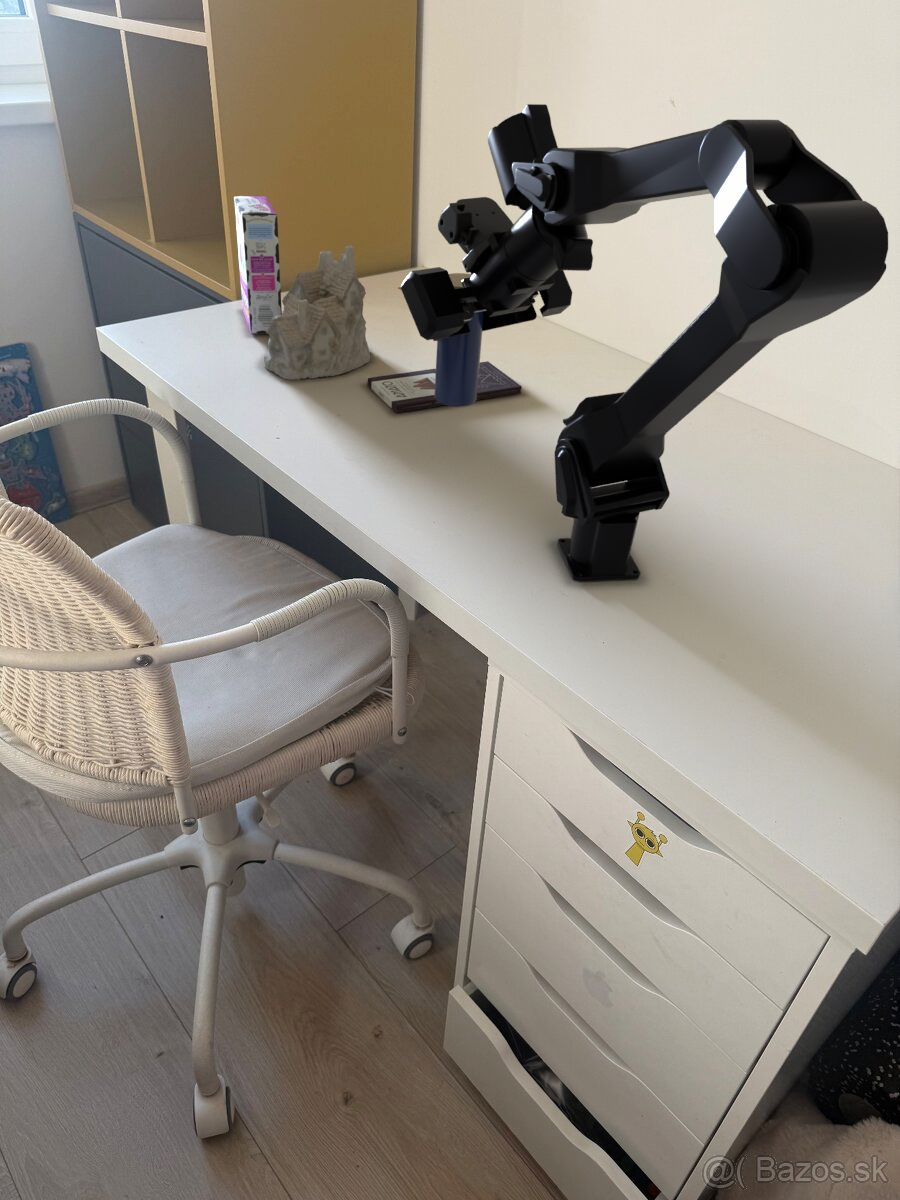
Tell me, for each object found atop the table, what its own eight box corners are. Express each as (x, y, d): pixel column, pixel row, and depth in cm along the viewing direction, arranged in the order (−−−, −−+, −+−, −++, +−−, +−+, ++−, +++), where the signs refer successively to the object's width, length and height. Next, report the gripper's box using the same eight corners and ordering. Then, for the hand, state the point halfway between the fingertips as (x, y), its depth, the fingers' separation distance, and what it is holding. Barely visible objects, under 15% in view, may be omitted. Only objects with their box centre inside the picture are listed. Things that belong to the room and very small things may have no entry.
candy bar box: (285, 334, 121) (278, 213, 111) (250, 335, 120) (240, 213, 110) (274, 309, 129) (267, 194, 119) (242, 310, 128) (231, 194, 118)
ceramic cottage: (333, 325, 124) (326, 220, 114) (390, 368, 114) (388, 257, 104) (235, 348, 117) (219, 238, 107) (286, 396, 107) (274, 279, 97)
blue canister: (481, 407, 92) (491, 287, 85) (436, 407, 92) (443, 287, 84) (473, 388, 96) (482, 273, 88) (430, 389, 95) (436, 272, 88)
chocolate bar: (521, 386, 108) (396, 405, 101) (520, 393, 109) (395, 412, 102) (488, 361, 115) (367, 377, 107) (487, 367, 115) (367, 384, 108)
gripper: (570, 167, 82) (490, 255, 95) (415, 179, 72) (350, 275, 86) (613, 270, 82) (527, 344, 95) (463, 296, 72) (391, 374, 86)
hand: (452, 332), depth 91 cm, fingers closed on blue canister, 5 cm apart
